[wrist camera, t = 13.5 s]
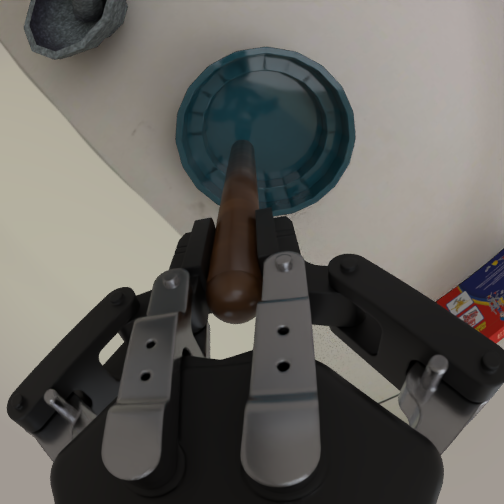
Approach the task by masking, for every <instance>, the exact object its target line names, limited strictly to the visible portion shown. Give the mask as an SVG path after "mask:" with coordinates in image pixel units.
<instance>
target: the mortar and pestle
mask: <svg viewBox="0 0 504 504" xmlns="http://www.w3.org/2000/svg"><path fill="white" fill-rule="evenodd" d="M127 8H128V6H127V3H126V0H31V2H30V5H29V9H28V13H27V17H26V21H25V25H24V30H25V33H26V36H27V39H28V42H29V44H30V47H31V50H32V51H33V52H36V53H38V54H41V55H44V56H46V57H49V58H52V59H63V58H66V57H70V56H73V55H75V54H78V53H81V52H83V51H86V50H89V49H92V48H95V47H98V46H99V44H100V43H101V42H102V41H103V40H104V39H105V38H107V37H110V36H111V35H112V34H113V33H114V32H115V31H116V30H117V29H118V28H119V27H120V26H121V25H122V24H123V22H124V18H125V15H126V11H127Z"/></svg>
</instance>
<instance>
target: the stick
mask: <svg viewBox="0 0 504 504" xmlns="http://www.w3.org/2000/svg"><path fill="white" fill-rule="evenodd" d="M257 209H259V200H258V188H257V177H256V165H255V154H254V147H253V145H252V144H251V143H250V142H249V141H247V140H238V141H236V142H235V143H234V144H233V145H232V147H231V152H230V157H229V162H228V167H227V172H226V177H225V182H224V187H223V192H222V198H221V203H220V208H219V214H218V219H217V225H216V231H215V236H214V242H213V248H212V254H211V260H210V266H209V272H208V278H207V284H206V301H207V305H208V307H209V309H210V310H211V312H212V313H213V314H214V315H215V316H216V317H217V318H219V319H220V320H222V321H224V322H226V323H230V324H241V323H245V322H248V321H249V320H251V319H253V318H254V317H256V309H257V302H258V301H262V286H263V277H262V275H261V270H260V266H259V261H258V255H257V236H256V218H255V210H257Z"/></svg>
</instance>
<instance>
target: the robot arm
mask: <svg viewBox="0 0 504 504" xmlns="http://www.w3.org/2000/svg"><path fill="white" fill-rule="evenodd" d="M255 218H256V236H257V255H258V261H259V266H260V270H261V275H262V277H263V286H262V301H258V302H257V309H256V323H255V335H254V347H253V350H252V351H248V352H245V353H242V354H239V355H236V356H233V357H230V358H226V359H223V360H217V359H210V325H209V323H208V314H210V313H212V312H211V310H210V309H209V307H208V305H207V301H206V284H207V278H208V272H209V266H210V260H211V254H212V248H213V242H214V236H215V231H216V228H215V225H214V222H213V219H212V218H206V219H201V220H196V221H195V222H194V225H193V228H192V232H190V233H185V234H184V235H183V237H182V238H181V239H180V240H179V242H178V245H177V249H176V251H175V255H174V256H173V259H172V262H171V265H170V268H169V270H168V271H165V272H164V273H162V274H161V275H159V276H158V277H157V279H156V280H155V282H154V284H153V289H152V290H150V291H148V292H145V293H143V294H140V295H137V296H136V295H135V293H134V291H133V290H132V289H131V288H129V287H122V288H118V289H116V290H114V291H112V292H111V293H109V294H108V295H107V296H106V297H105V298H104V299H103V300H102V301H101V302H100V303H99V304H98V305H97V306H95V307H94V308H93V309H92V310H91V311H90V312H89V313H88V314H87V315H86V316H85V317H84V318H83V319H82V320H81V321H80V322H79V323H78V324H77V325H76V326H75V327H74V328H73V329H72V330H71V331H70V332H69V333H68V334H67V335H66V336H65V337H64V338H63V339H62V340H61V341H60V342H59V344H57V346H56V347H55V348H54V349H53V350H52V351H51V352H50V353H49V354H48V355H47V356H46V357H45V358H44V359H43V360H42V361H41V362H40V363H39V365H38V366H37V367H36V368H35V369H34V370H33V371H32V372H31V373H30V374H29V375H28V377H27V378H26V379H25V380H24V381H23V382H22V383H21V384H20V385H19V387H18V388H17V389H16V390H15V391H14V392H13V394H12V395H11V397H10V398H9V400H8V404H7V413H8V415H9V417H10V418H11V419H12V420H14V421H15V422H16V423H17V424H19V425H20V426H21V427H23V428H24V429H25V430H26V432H28V433H29V434H30V435H32V436H33V437H35V438H36V440H37V441H38V443H39V444H40V445H41V447H42V448H43V449H44V451H45V452H46V453H47V455H48V456H49V457H50V458H51V460H52V461H53V465H52V468H51V476H50V481H51V488H52V492H53V496H54V501H55V504H436V502H437V499H438V496H439V493H440V490H441V487H442V484H443V476H444V468H443V462H442V458H441V454H442V453H443V452H444V451H445V450H446V449H447V448H448V446H449V445H450V444H451V443H452V442H453V440H454V439H455V438H456V437H457V436H458V434H459V433H460V432H461V431H462V429H463V428H464V427H465V426H466V425H467V424H468V423H469V422H470V421H471V420H472V419H473V418H474V417H475V416H476V414H478V413H479V412H480V410H481V409H482V408H483V407H484V406H485V405H486V404H487V403H488V401H489V400H490V399H491V398H492V397H493V395H494V394H495V393H496V392H497V391H498V389H499V388H500V387H501V386H502V384H503V383H504V350H503V349H502V348H501V347H500V346H499V345H497V344H496V343H494V342H493V341H492V340H490V339H489V338H487V337H486V336H485V335H483V334H482V333H480V332H479V331H477V330H476V329H474V328H473V327H472V326H470V325H469V324H467V323H466V322H464V321H463V320H461V319H460V318H458V317H457V316H455V315H454V314H452V313H451V312H449V311H448V310H446V309H445V308H443V307H442V306H440V305H439V304H437V303H436V302H434V301H433V300H431V299H430V298H428V297H426V296H425V295H423V294H422V293H420V292H419V291H417V290H416V289H414V288H412V287H411V286H409V285H408V284H406V283H404V282H403V281H401V280H400V279H398V278H396V277H395V276H393V275H392V274H390V273H388V272H387V271H385V270H383V269H382V268H380V267H378V266H377V265H375V264H374V263H372V262H370V261H369V260H367V259H365V258H364V257H362V256H359V255H355V254H343V255H339V256H336V257H335V258H333V259H332V260H331V261H330V262H329V264H328V266H319V265H313V264H310V263H308V262H306V261H305V260H304V258H303V257H302V256H301V253H300V250H299V246H298V242H297V238H296V235H295V231H294V227H293V223H292V221H291V220H290V219H289V218H287V217H286V216H283V217H277V218H273V213H272V207H269V208H263V209H257V210H255ZM312 324H313V325H324V326H329V327H330V329H331V331H332V332H333V333H334V334H335V335H336V336H338V337H339V338H340V339H341V340H342V341H343V342H344V343H346V344H347V345H348V346H349V347H350V348H351V349H352V350H354V351H355V352H356V353H357V354H358V355H359V356H361V357H362V358H363V359H364V360H365V361H366V362H367V363H369V364H370V365H371V366H372V367H373V368H374V369H375V370H377V371H378V372H379V373H380V374H381V375H382V376H384V377H385V378H386V379H387V380H388V381H389V382H390V383H392V384H393V385H394V386H395V387H396V388H397V389H399V390H400V393H399V396H398V402H399V406H400V408H401V410H402V411H403V413H404V414H405V415H406V417H407V418H408V421H409V425H408V424H407V423H405V422H404V421H402V420H401V419H399V418H398V417H397V416H395V415H394V414H392V413H391V412H389V411H388V410H387V409H385V408H384V407H382V406H381V405H380V404H378V403H377V402H375V401H374V400H373V399H371V398H370V397H369V396H367V395H366V394H364V393H363V392H362V391H360V390H359V389H358V388H356V387H355V386H354V385H352V384H351V383H349V382H348V381H347V380H345V379H344V378H343V377H341V376H340V375H339V374H337V373H336V372H335V371H333V370H332V369H331V368H329V367H328V366H327V365H325V364H323V363H321V362H319V361H317V360H315V354H314V342H313V331H312ZM117 333H119V335H120V336H121V338H122V339H123V340H124V343H123V344H122V345H121V346H120V347H119V348H118V349H117V351H116V352H115V353H114V354H113V355H112V356H111V357H110V358H109V359H108V361H107V362H106V363H105V364H104V365H103V366H102V364H101V363H100V362H99V353H100V351H101V350H102V349H103V348H104V347H105V345H106V344H107V343H108V342H109V341H110V340H111V339H112V338H113V337H114V336H115V335H116V334H117Z"/></svg>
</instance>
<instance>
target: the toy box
mask: <svg viewBox="0 0 504 504" xmlns="http://www.w3.org/2000/svg"><path fill="white" fill-rule="evenodd" d="M436 302H437V304H439V305H440V306H442V307H443V308H445V309H446V310H448V311H449V312H451V313H452V314H454V315H455V316H457V317H458V318H460V319H461V320H463V321H464V322H466V323H467V324H469V325H470V326H472V327H473V328H474V329H476V330H477V331H479V332H480V333H482V334H483V335H485V336H486V337H487V338H489V339H490V340H492V341H493V342H494V343H497V342H499V341H500V340H501V339H503V338H504V249H503V250H502V251H501V252H499V253H498V254H497V255H496V256H495V257H494V258H492V259H491V260H490V261H489V262H488V263H486V264H485V265H484V266H483V267H482V268H480V269H479V270H478V271H477V272H475V273H474V274H473V275H472V276H470V277H469V278H468V279H466V280H465V281H464V282H462V283H461V284H460V285H458V286H457V287H456V288H454V289H453V290H452V291H450V292H449V293H447V294H446V295H445V296H443V297H442V298H440V299H439V300H438V301H436Z"/></svg>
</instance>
